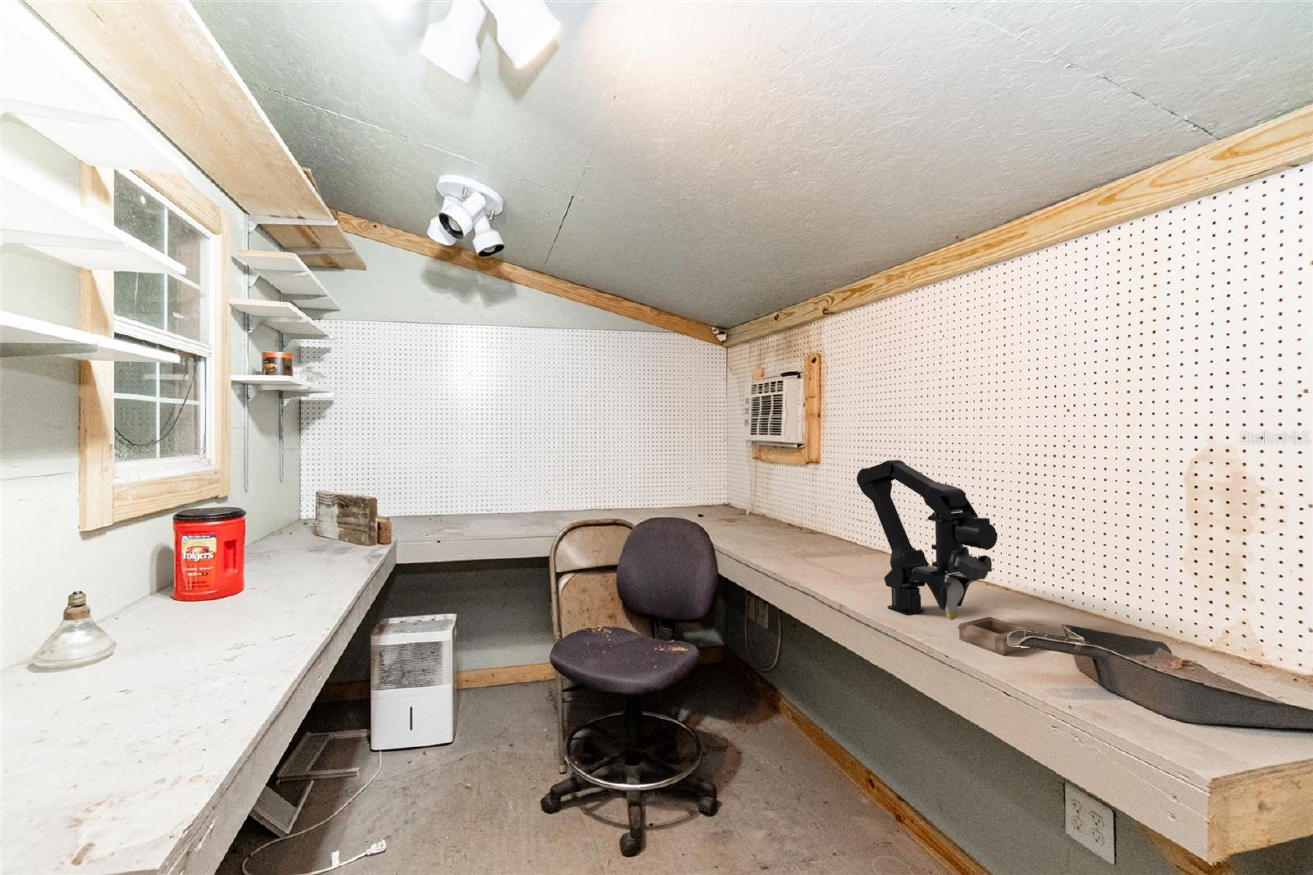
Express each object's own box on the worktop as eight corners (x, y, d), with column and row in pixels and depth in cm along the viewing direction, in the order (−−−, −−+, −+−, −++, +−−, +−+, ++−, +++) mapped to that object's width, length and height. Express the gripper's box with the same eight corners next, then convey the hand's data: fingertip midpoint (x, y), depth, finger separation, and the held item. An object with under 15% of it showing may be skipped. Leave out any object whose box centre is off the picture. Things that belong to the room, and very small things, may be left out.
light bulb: (935, 620, 129) (933, 578, 129) (943, 614, 133) (941, 573, 133) (960, 625, 125) (958, 582, 125) (967, 619, 129) (966, 576, 129)
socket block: (959, 639, 121) (959, 623, 121) (989, 631, 125) (989, 616, 125) (1003, 655, 112) (1003, 638, 112) (1034, 646, 116) (1034, 630, 116)
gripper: (951, 552, 118) (953, 624, 118) (1009, 543, 125) (1010, 611, 125) (909, 543, 128) (911, 610, 128) (964, 535, 135) (966, 598, 135)
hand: (950, 607), depth 129 cm, fingers closed on light bulb, 5 cm apart
